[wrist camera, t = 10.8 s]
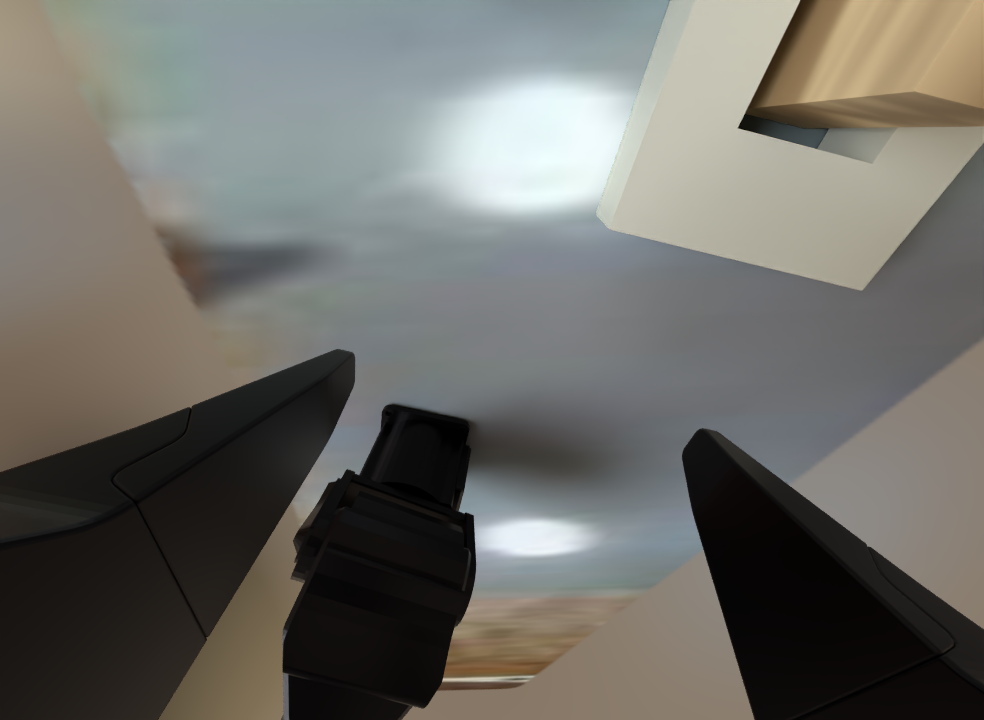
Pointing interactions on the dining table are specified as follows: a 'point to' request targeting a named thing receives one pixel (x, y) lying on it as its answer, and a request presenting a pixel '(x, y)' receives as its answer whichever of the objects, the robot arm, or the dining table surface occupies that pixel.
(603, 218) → the well block
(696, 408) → the dining table surface
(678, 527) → the dining table surface
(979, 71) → the wooden bar
